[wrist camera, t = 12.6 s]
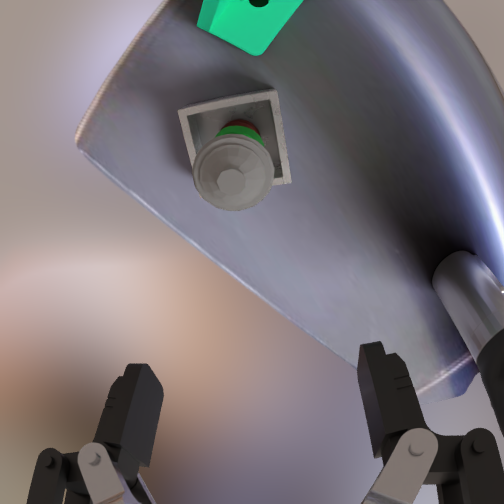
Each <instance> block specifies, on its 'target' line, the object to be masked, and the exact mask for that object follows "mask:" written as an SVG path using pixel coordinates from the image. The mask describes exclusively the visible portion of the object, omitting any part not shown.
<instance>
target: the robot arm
mask: <svg viewBox="0 0 504 504" xmlns="http://www.w3.org/2000/svg"><path fill="white" fill-rule="evenodd" d="M432 285H433V288H434V290H435V292H436V293H437V295H438V296H439V298H440V300H441V301H442V303H443V305H444V306H445V308H446V310H447V311H448V313H449V315H450V316H451V318H452V320H453V322H454V323H455V325H456V327H457V329H458V330H459V332H460V334H461V336H462V338H463V339H464V341H465V343H466V345H467V347H468V349H469V350H470V352H471V354H472V356H473V358H474V360H475V362H476V364H477V366H478V368H479V370H480V373H481V378H482V381H483V384H484V386H485V389H486V391H487V393H488V396H489V398H490V401H491V404H492V407H493V409H494V412H495V415H496V418H497V421H498V424H499V427H500V430H501V432H502V434H503V437H504V294H503V293H504V287H503V286H502V285H501V283H500V282H499V281H498V280H497V278H496V277H495V276H494V275H493V273H492V272H491V271H490V270H489V269H488V267H487V266H486V265H485V264H484V263H483V261H482V260H481V259H480V258H479V257H478V256H477V255H472V254H470V253H469V252H467V251H457V252H454V253H452V254H450V255H449V256H447V257H446V258H445V259H444V260H443V261H442V262H441V263H440V264H439V265H438V267H437V268H436V270H435V272H434V275H433V278H432ZM357 375H358V383H359V387H360V391H361V396H362V400H363V405H364V410H365V415H366V419H367V424H368V429H369V434H370V439H371V445H372V450H373V455H374V458H379V457H382V460H383V465H384V467H383V468H382V470H381V472H380V474H379V475H378V477H377V479H376V480H375V482H374V484H373V485H372V487H371V488H370V490H369V492H368V493H367V495H366V496H365V498H364V500H363V501H362V503H361V504H412V503H413V501H414V500H415V498H416V496H417V494H418V492H419V490H420V488H421V486H422V484H426V485H428V484H436V486H437V492H438V500H439V504H504V471H503V467H502V463H501V458H500V454H499V450H498V447H497V443H496V440H495V437H494V435H493V434H492V433H491V432H490V431H489V430H487V429H484V428H476V429H473V430H471V431H470V432H468V433H467V434H466V435H465V436H464V435H463V436H443V435H439V434H436V433H434V432H433V431H431V430H430V429H429V428H428V426H427V425H426V423H425V421H424V417H423V414H422V411H421V408H420V405H419V401H418V398H417V395H416V392H415V389H414V387H413V384H412V381H411V378H410V377H409V372H408V369H407V367H406V364H405V362H404V361H403V360H402V359H401V358H400V357H399V356H398V355H397V353H392V354H387V355H386V353H385V350H384V347H383V345H382V343H381V341H377V342H372V343H367V344H361V345H360V350H359V359H358V367H357ZM163 397H164V393H163V387H162V385H161V383H160V382H159V380H158V379H157V377H156V376H155V374H154V373H153V371H152V370H151V368H150V366H149V365H148V364H128V365H127V367H126V369H125V372H124V375H123V376H119V377H118V378H117V379H116V381H115V382H114V383H113V385H112V386H111V388H110V391H109V394H108V399H107V400H106V403H105V408H104V409H103V412H102V415H101V418H100V422H99V425H98V428H97V431H96V434H95V438H94V440H93V442H92V443H89V444H87V445H85V446H84V447H83V448H82V449H81V450H80V452H73V453H66V454H62V453H60V452H59V451H57V450H56V449H54V448H47V449H45V450H43V451H42V452H41V453H40V455H39V456H38V459H37V463H36V466H35V470H34V474H33V478H32V482H31V486H30V490H29V495H28V499H27V504H62V502H63V496H64V491H65V488H66V489H67V492H66V497H65V503H64V504H156V503H155V501H154V499H153V497H152V496H151V494H150V492H149V491H148V489H147V487H146V485H145V483H144V482H143V480H142V478H141V476H140V474H139V473H138V470H139V466H142V467H149V464H150V459H151V454H152V449H153V445H154V439H155V434H156V430H157V424H158V420H159V416H160V411H161V406H162V402H163Z"/></svg>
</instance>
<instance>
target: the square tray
mask: <svg viewBox="0 0 504 504" xmlns="http://www.w3.org/2000/svg"><path fill="white" fill-rule="evenodd" d="M177 111H178V115H179V119H180V123H181V127H182V131H183V135H184V139H185V143H186V146H187V150H188V154H189V158H190V162H191V166H192V168H193V163H194V159H195V157H196V155H197V153H198V151H199V150H200V149H201V148H202V147H203V146H204V145H205V144H206V143H207V142H209V141H210V140H212V139H214V138H215V136H216V135H217V133H218V132H220V130H221V128H222V127H223V126H224V125H225V124H226V123H228V122H230V121H233V120H238V119H241V120H247V121H249V122H251V123H253V124H254V126H255V127H256V128H257V129H258V130H259V133H260V136H261V139H262V141H263V143H264V148H265V149H266V150H267V151H268V152H269V154H270V157H271V159H272V162H273V165H274V181H273V184H272V186H274V185H281V184H288V183H292V182H291V175H290V168H289V161H288V155H287V148H286V142H285V136H284V129H283V123H282V117H281V111H280V105H279V100H278V94H277V90H276V89H274V88H272V89H266V90H259V91H253V92H248V93H242V94H237V95H231V96H226V97H221V98H217V99H212V100H207V101H203V102H199V103H194V104H190V105H186V106H184V107H183V108H181V109H179V110H177ZM199 196H200V198H202V196H201V195H200V193H199Z"/></svg>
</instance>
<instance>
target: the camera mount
mask: <svg viewBox="0 0 504 504" xmlns="http://www.w3.org/2000/svg"><path fill="white" fill-rule="evenodd" d="M302 1H303V0H268V4H267V5H266V6H264V7H254V6H252V5H251V4H250V3H249V0H203V4H202V8H201V11H200V15H199V19H198V22H197V27H199V28H201V29H203V30H205V31H207V32H209V33H211V34H213V35H215V36H217V37H219V38H221V39H223V40H225V41H227V42H229V43H230V44H232V45H234V46H236V47H238V48H240V49H241V50H243V51H245V52H247V53H249V54H250V55H253V56H258V55H261V54H262V53H264V51H265V50H266V48H267V47H268V46H269V44H270V43H271V42H272V40H273V39H274V38H275V36H276V35H277V34H278V32H279V31H280V30H281V28H282V27H283V26H284V24H285V23H286V22H287V21H288V19H289V18H290V17H291V15H292V14H293V13H294V12H295V10H296V9H297V8H298V6H299V5H300V4H301V3H302Z"/></svg>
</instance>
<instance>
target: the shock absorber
mask: <svg viewBox="0 0 504 504" xmlns="http://www.w3.org/2000/svg"><path fill="white" fill-rule="evenodd" d="M192 175H193V180H194V184H195V188H196V189H197V190H198V192H199V193H200V195H201V196H202V198H203V199H204V200H206V201H207V202H209V203H210V204H212V205H213V206H215V207H216V208H220V209H223V210H227V211H240V210H244V209H247V208H250V207H253V206H255V205H256V204H258V203H259V202H260V201H262V200H263V199H264V198H265V196H266V195H267V194H268V193H269V191H270V189H271V186H272V184H273V181H274V165H273V162H272V159H271V157H270V154H269V152H268V151H267V150H266V149H265V148H264V143H263V141H262V139H261V136H260V133H259V130H258V129H257V128H256V127H255V126H254V124H253V123H251V122H249V121H247V120H241V119H238V120H233V121H230V122H228V123H226V124H225V125H224V126H223V127H222V128H221V130H220V132H218V133H217V135H216V136H215V138H214V139H212V140H210V141H209V142H207V143H206V144H205V145H204V146H203V147H202V148H201V149H200V150H199V151H198V153H197V155H196V157H195V159H194V163H193V168H192Z"/></svg>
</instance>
